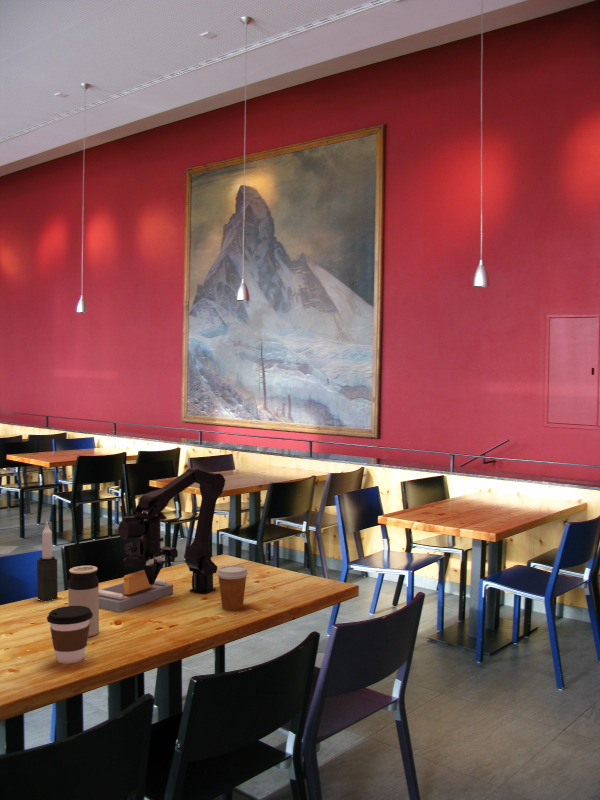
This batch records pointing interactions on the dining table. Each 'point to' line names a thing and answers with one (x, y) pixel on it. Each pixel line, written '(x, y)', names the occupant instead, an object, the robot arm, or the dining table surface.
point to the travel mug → (85, 593)
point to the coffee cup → (70, 632)
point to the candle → (47, 569)
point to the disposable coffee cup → (232, 586)
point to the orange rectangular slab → (136, 582)
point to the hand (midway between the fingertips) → (151, 584)
